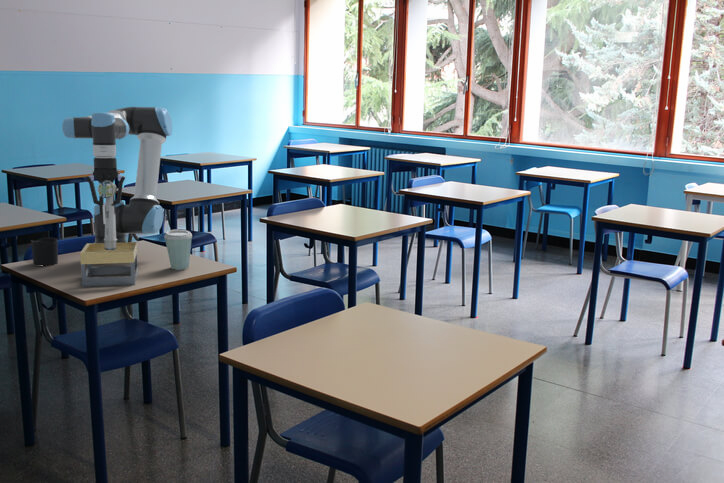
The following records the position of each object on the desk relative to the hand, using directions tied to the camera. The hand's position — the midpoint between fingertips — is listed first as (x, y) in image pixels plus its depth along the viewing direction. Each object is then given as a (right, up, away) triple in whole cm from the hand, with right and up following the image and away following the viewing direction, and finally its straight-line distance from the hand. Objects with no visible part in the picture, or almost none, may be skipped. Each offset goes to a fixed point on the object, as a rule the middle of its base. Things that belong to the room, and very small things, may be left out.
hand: (108, 223), depth 239 cm
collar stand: (0, -20, +4) cm, 21 cm away
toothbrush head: (0, -10, +1) cm, 10 cm away
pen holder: (-34, -16, +25) cm, 46 cm away
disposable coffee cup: (+19, -18, +23) cm, 35 cm away
